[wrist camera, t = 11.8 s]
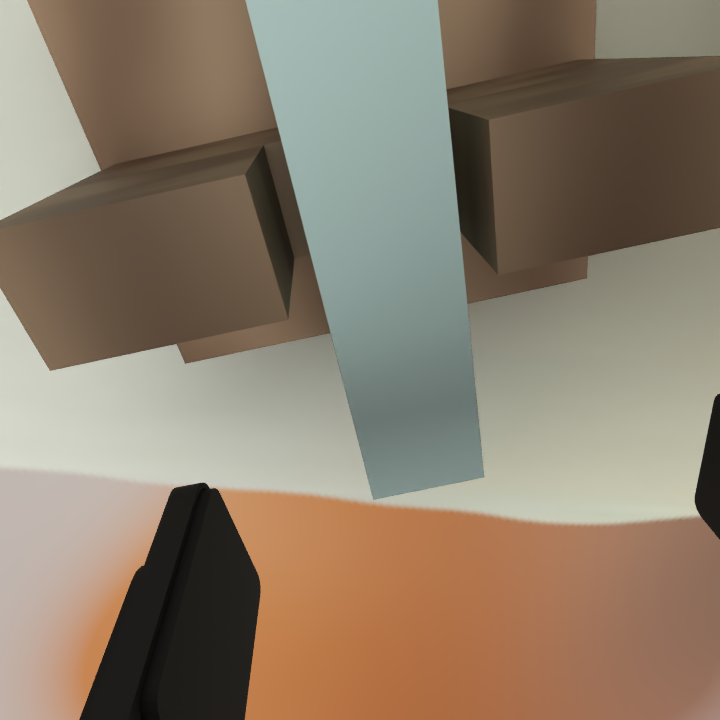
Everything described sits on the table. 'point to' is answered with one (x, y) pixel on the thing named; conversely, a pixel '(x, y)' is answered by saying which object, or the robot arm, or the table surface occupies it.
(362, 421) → the slotted crosspiece
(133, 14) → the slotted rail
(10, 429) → the table surface
